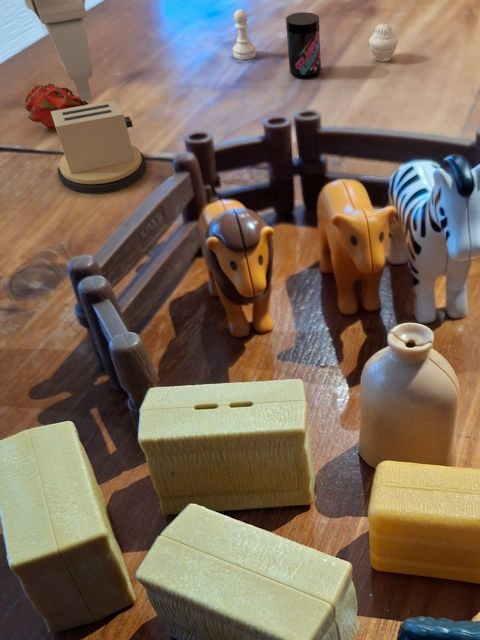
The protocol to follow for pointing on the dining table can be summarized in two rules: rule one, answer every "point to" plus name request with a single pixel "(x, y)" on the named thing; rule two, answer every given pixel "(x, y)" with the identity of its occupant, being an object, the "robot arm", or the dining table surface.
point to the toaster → (95, 143)
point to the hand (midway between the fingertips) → (81, 86)
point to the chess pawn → (242, 38)
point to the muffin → (383, 42)
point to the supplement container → (303, 44)
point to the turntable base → (105, 186)
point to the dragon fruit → (49, 103)
